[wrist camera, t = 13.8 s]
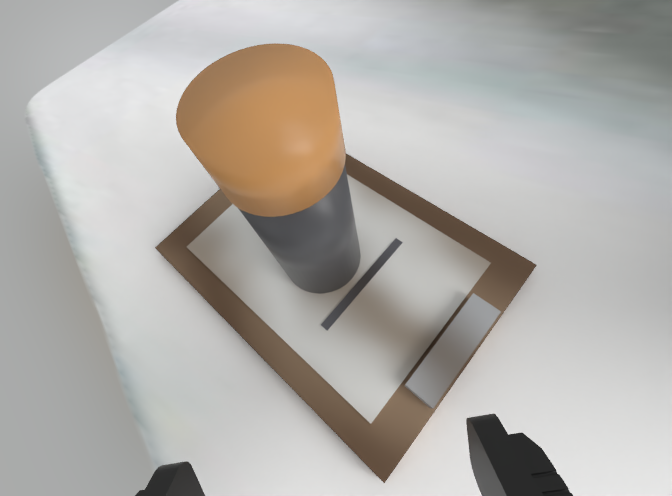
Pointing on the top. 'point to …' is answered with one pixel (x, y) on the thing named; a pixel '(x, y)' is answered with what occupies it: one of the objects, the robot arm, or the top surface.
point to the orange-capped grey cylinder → (278, 156)
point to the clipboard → (360, 309)
